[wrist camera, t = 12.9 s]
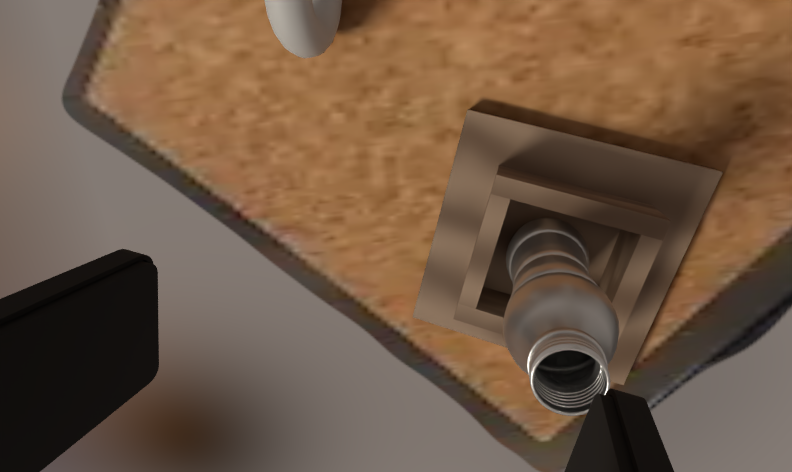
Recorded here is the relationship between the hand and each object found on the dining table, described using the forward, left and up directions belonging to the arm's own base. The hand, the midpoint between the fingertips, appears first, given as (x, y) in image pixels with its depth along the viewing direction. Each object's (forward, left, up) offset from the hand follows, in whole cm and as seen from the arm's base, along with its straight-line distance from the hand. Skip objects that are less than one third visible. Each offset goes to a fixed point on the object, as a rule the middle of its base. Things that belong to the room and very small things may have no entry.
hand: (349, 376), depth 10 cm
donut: (-10, -16, -34) cm, 39 cm away
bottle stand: (+6, +8, -34) cm, 35 cm away
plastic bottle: (+6, +8, -33) cm, 34 cm away
